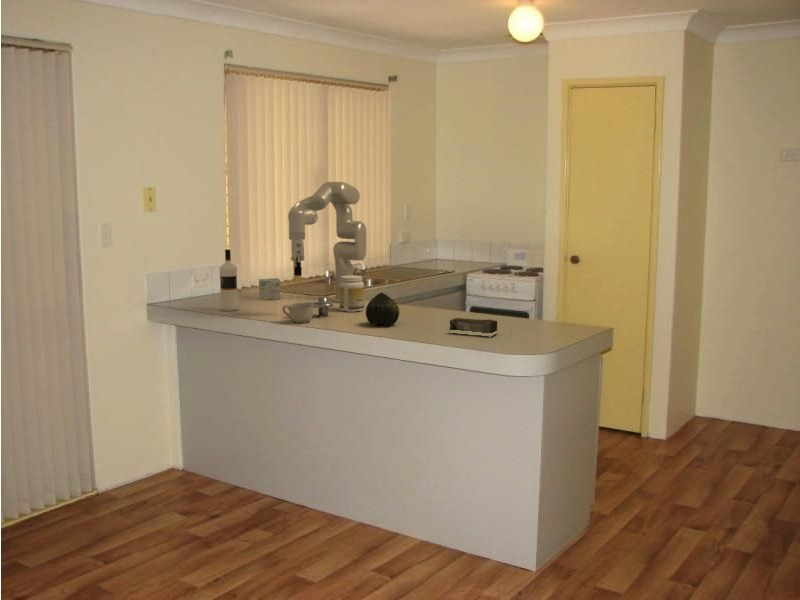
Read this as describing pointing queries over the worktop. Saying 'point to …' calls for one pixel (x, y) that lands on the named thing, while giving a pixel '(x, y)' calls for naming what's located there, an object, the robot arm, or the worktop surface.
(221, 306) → the vodka
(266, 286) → the light bulb box
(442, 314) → the worktop surface
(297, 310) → the teacup
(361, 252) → the robot arm
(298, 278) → the wedge pin
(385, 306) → the squash
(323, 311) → the grey knob latch
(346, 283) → the supplement tub
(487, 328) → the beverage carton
